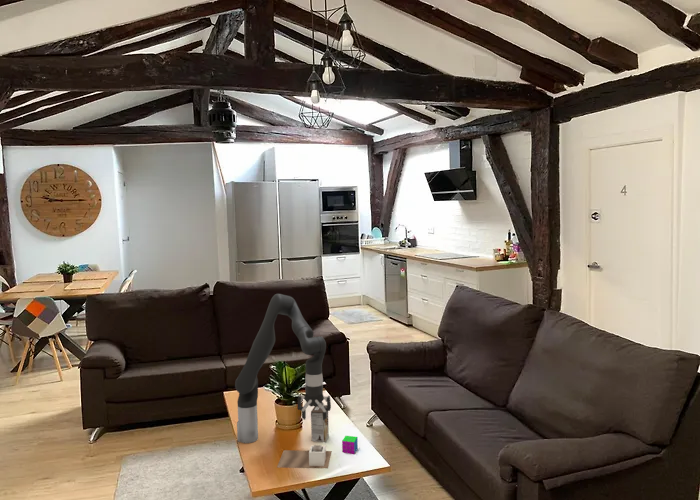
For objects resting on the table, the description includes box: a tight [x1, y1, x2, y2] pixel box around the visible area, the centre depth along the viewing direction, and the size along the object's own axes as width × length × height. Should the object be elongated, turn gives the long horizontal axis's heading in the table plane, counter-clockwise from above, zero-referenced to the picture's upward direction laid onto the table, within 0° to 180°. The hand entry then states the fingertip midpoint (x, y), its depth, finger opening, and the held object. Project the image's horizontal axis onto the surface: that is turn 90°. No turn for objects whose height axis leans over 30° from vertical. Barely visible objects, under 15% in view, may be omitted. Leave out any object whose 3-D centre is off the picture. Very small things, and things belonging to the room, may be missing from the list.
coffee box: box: [310, 404, 330, 444], centre depth 263 cm, size 9×6×16 cm
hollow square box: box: [308, 445, 327, 466], centre depth 238 cm, size 6×6×6 cm
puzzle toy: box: [341, 435, 359, 455], centre depth 252 cm, size 6×6×6 cm
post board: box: [276, 444, 333, 469], centre depth 242 cm, size 22×16×8 cm
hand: (314, 419), depth 238 cm, fingers open, 8 cm apart
